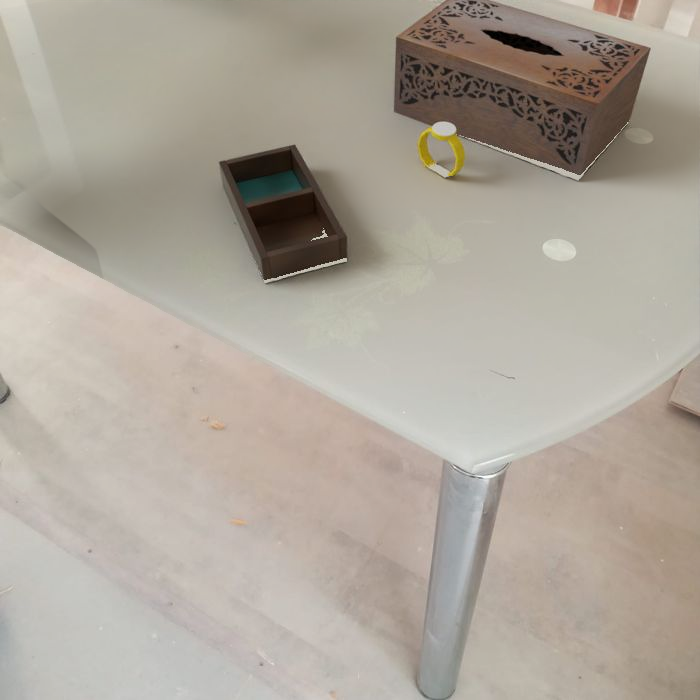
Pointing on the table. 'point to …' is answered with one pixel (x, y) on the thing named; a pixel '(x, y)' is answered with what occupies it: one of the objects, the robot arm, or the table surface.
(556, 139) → the tissue box cover
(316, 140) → the table surface
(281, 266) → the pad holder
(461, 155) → the watch
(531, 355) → the table surface
